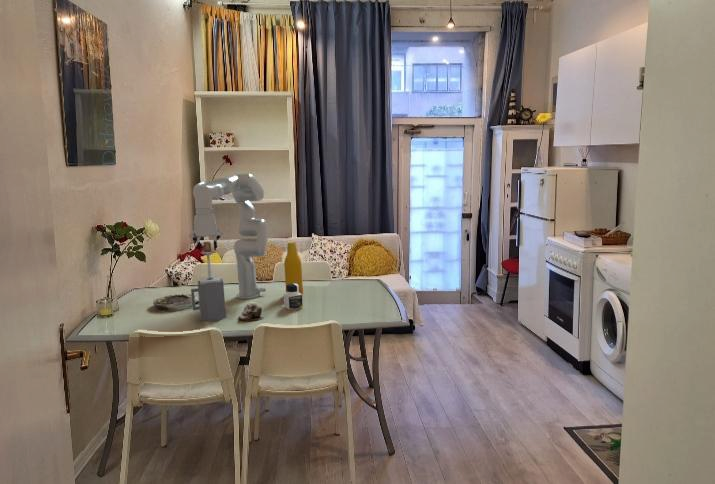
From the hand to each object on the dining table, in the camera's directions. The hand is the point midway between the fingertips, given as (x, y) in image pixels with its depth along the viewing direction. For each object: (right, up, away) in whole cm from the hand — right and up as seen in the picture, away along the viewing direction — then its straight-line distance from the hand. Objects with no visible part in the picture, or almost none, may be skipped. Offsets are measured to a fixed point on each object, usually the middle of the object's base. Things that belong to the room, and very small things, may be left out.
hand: (207, 249), depth 257 cm
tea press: (0, -33, +5) cm, 33 cm away
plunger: (+1, -19, +3) cm, 19 cm away
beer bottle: (+36, -25, +42) cm, 61 cm away
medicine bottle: (+38, -29, +17) cm, 51 cm away
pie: (-25, -30, +29) cm, 49 cm away
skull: (+20, -33, +3) cm, 38 cm away
